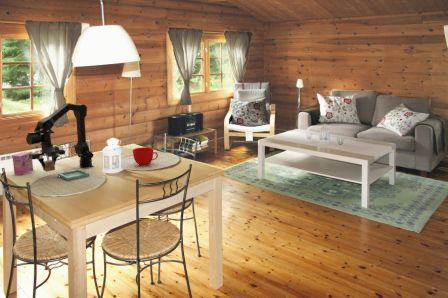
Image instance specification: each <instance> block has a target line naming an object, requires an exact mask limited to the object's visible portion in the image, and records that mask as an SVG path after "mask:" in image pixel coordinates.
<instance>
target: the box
mask: <svg viewBox="0 0 448 298" xmlns="http://www.w3.org/2000/svg"><path fill="white" fill-rule="evenodd" d="M30 153H33V152H32V151H21V152H20V153H16V154H13V155H12V163H13V164H12V166H13V172H14V176H15V175H16V176H24V175H26V174H28V173H30V172H32V171H34V165H33V159H31V158H29V154H30Z"/></svg>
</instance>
